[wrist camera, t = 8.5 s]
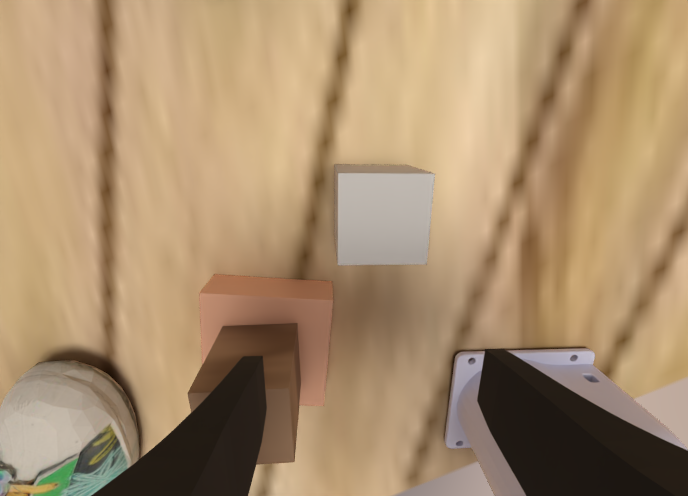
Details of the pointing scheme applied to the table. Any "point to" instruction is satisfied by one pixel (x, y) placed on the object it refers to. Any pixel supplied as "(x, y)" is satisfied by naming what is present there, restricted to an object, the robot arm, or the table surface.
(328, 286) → the terracotta tile
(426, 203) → the light grey block
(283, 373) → the walnut block
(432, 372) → the table surface
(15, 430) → the sneaker
